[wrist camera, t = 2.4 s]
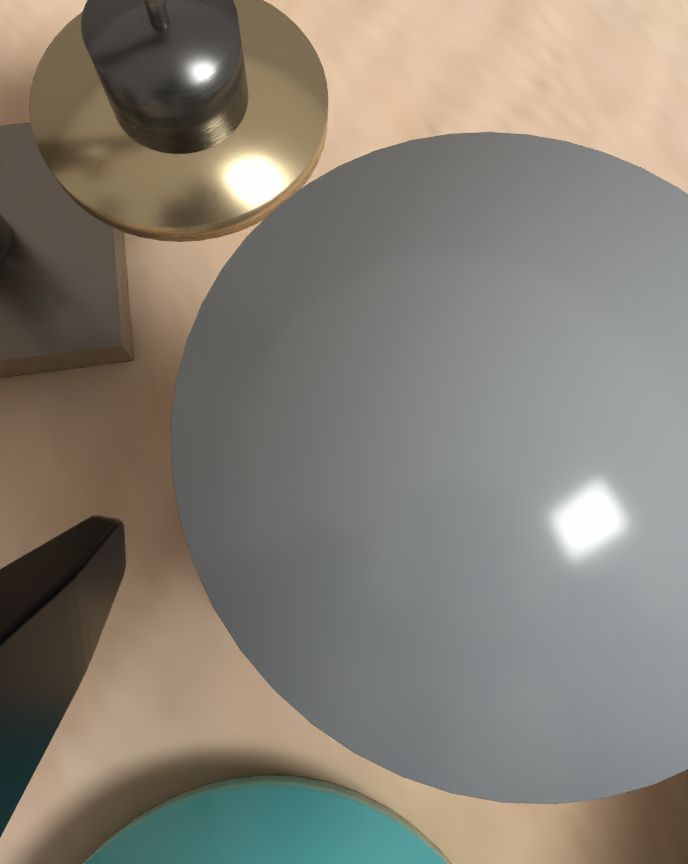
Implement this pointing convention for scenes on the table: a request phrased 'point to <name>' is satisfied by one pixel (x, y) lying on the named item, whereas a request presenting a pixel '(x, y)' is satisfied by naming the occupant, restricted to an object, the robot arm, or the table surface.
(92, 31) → the balance
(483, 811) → the table surface
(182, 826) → the dish
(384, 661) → the cup
